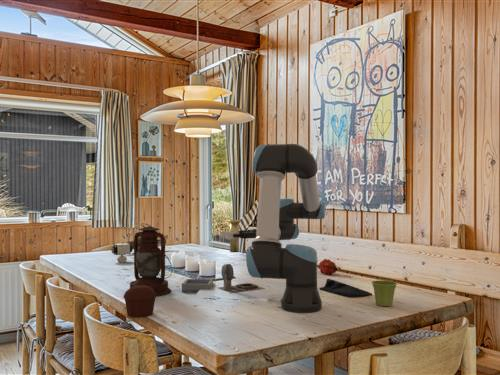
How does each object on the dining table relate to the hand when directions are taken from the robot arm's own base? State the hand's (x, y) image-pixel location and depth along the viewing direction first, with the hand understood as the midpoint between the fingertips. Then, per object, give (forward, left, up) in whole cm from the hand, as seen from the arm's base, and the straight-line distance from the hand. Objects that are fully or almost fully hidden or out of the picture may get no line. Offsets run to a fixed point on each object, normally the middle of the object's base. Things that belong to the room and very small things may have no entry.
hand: (223, 235), depth 213 cm
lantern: (-4, +32, -24) cm, 40 cm away
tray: (+3, +12, -24) cm, 27 cm away
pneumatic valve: (+80, +70, -24) cm, 109 cm away
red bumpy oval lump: (+44, -50, -24) cm, 71 cm away
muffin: (-40, +26, -24) cm, 54 cm away
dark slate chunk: (+1, -53, -25) cm, 58 cm away
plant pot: (-22, -64, -24) cm, 72 cm away
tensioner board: (-1, -8, -24) cm, 25 cm away
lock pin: (+3, -5, -7) cm, 9 cm away
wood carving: (+125, +67, -24) cm, 143 cm away
